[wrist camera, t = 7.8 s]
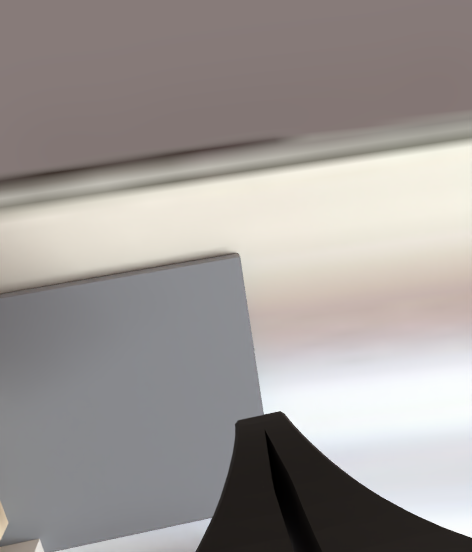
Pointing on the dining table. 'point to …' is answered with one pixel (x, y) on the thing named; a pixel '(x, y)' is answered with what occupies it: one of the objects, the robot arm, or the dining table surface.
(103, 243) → the dining table surface
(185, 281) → the board
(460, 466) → the dining table surface
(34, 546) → the dock
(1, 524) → the t block
